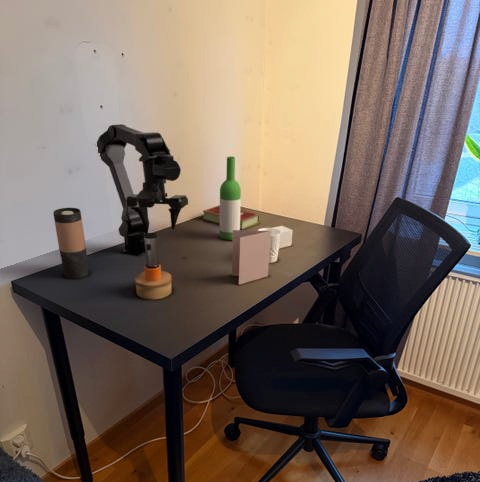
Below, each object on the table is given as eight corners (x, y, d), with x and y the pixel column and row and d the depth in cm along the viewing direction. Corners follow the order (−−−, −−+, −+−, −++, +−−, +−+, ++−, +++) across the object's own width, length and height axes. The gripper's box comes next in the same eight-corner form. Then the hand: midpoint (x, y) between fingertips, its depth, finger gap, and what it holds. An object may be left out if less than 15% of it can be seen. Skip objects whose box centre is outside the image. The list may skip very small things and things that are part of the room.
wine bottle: (243, 236, 172) (246, 156, 158) (232, 242, 167) (234, 160, 152) (226, 232, 176) (227, 154, 162) (215, 238, 170) (215, 157, 156)
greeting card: (267, 274, 141) (270, 229, 134) (269, 285, 135) (272, 238, 128) (231, 274, 141) (232, 229, 134) (232, 284, 134) (233, 237, 127)
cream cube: (281, 240, 170) (282, 225, 167) (291, 245, 166) (292, 230, 163) (268, 243, 167) (269, 228, 164) (279, 248, 162) (280, 232, 160)
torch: (148, 273, 129) (145, 231, 123) (163, 274, 129) (161, 232, 123) (142, 279, 125) (139, 236, 119) (158, 281, 125) (155, 238, 119)
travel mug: (94, 271, 140) (86, 209, 131) (79, 280, 134) (69, 216, 124) (74, 267, 142) (64, 206, 133) (58, 276, 136) (46, 213, 126)
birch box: (129, 295, 126) (127, 281, 124) (148, 281, 135) (146, 267, 133) (161, 302, 123) (160, 287, 121) (178, 287, 132) (177, 273, 130)
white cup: (272, 265, 148) (274, 237, 143) (251, 260, 152) (253, 232, 147) (282, 258, 154) (285, 230, 149) (263, 253, 158) (264, 226, 153)
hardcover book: (220, 213, 199) (220, 204, 197) (258, 223, 188) (259, 213, 186) (202, 219, 190) (202, 210, 188) (242, 230, 179) (242, 220, 177)
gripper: (112, 182, 129) (120, 234, 136) (170, 182, 124) (176, 237, 130) (131, 175, 139) (138, 224, 145) (186, 176, 133) (191, 227, 140)
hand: (160, 228), depth 140 cm, fingers open, 9 cm apart
